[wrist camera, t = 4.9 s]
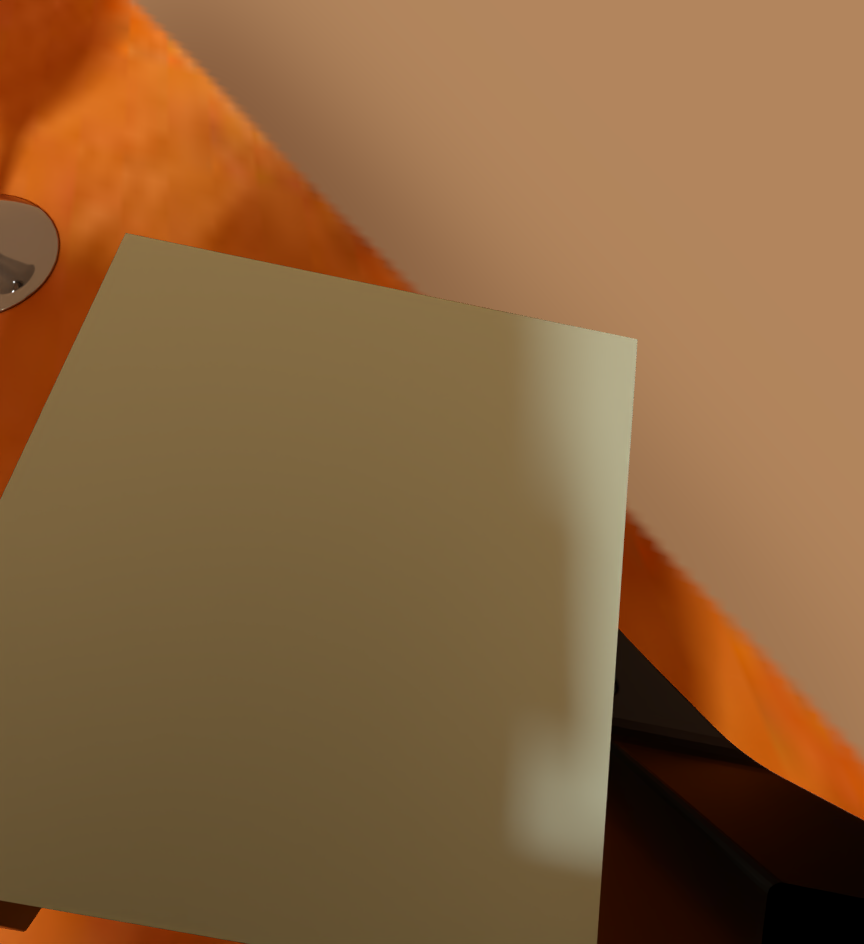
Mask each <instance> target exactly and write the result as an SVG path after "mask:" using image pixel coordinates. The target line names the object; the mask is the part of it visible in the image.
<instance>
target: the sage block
mask: <svg viewBox="0 0 864 944" xmlns="http://www.w3.org/2000/svg"><path fill="white" fill-rule="evenodd" d="M636 354H637V339H633V338H628V337H623V336H618V335H613V334H609V333H604V332H599V331H594V330H589V329H585V328H580V327H575V326H570V325H565V324H560V323H556V322H551V321H546V320H541V319H537V318H532V317H527V316H522V315H517V314H513V313H507V312H503V311H498V310H493V309H488V308H483V307H479V306H474V305H469V304H464V303H460V302H455V301H450V300H445V299H440V298H436V297H431V296H426V295H421V294H416V293H412V292H407V291H402V290H397V289H392V288H388V287H383V286H378V285H373V284H368V283H364V282H359V281H354V280H349V279H344V278H340V277H335V276H330V275H325V274H320V273H316V272H311V271H306V270H301V269H296V268H292V267H287V266H282V265H277V264H272V263H268V262H263V261H258V260H253V259H248V258H244V257H239V256H234V255H229V254H224V253H220V252H215V251H210V250H205V249H200V248H195V247H191V246H186V245H181V244H176V243H171V242H167V241H162V240H157V239H152V238H147V237H143V236H138V235H133V234H128V233H125V236H124V238H123V240H122V242H121V244H120V246H119V248H118V250H117V253H116V255H115V257H114V259H113V261H112V263H111V265H110V267H109V270H108V272H107V274H106V276H105V278H104V280H103V282H102V284H101V287H100V289H99V291H98V293H97V295H96V297H95V299H94V301H93V304H92V306H91V308H90V310H89V312H88V314H87V316H86V318H85V321H84V323H83V325H82V327H81V329H80V331H79V333H78V335H77V338H76V340H75V342H74V344H73V346H72V348H71V350H70V352H69V355H68V357H67V359H66V361H65V363H64V365H63V367H62V369H61V372H60V374H59V376H58V378H57V380H56V382H55V384H54V386H53V389H52V391H51V393H50V395H49V397H48V399H47V401H46V403H45V406H44V408H43V410H42V412H41V414H40V416H39V418H38V420H37V423H36V425H35V427H34V429H33V431H32V433H31V435H30V437H29V440H28V442H27V444H26V446H25V448H24V450H23V452H22V454H21V457H20V459H19V461H18V463H17V465H16V467H15V469H14V471H13V474H12V476H11V478H10V480H9V482H8V484H7V486H6V488H5V491H4V493H3V495H2V497H1V499H0V900H1V901H7V902H13V903H18V904H24V905H30V906H36V907H41V908H47V909H53V910H58V911H64V912H70V913H75V914H81V915H87V916H93V917H98V918H104V919H110V920H115V921H121V922H127V923H132V924H138V925H144V926H150V927H155V928H161V929H167V930H172V931H178V932H184V933H189V934H195V935H201V936H207V937H212V938H218V939H224V940H229V941H235V942H241V943H246V944H597V935H598V920H599V905H600V890H601V875H602V860H603V845H604V831H605V816H606V801H607V786H608V771H609V756H610V741H611V726H612V711H613V696H614V681H615V667H616V652H617V637H618V622H619V607H620V592H621V577H622V562H623V547H624V532H625V518H626V503H627V488H628V472H629V458H630V443H631V427H632V412H633V398H634V383H635V368H636Z"/></svg>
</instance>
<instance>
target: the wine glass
mask: <svg viewBox="0 0 864 944" xmlns="http://www.w3.org/2000/svg"><path fill="white" fill-rule="evenodd" d="M58 254H59V237H58V232H57V229H56V227H55V225H54V223H53V221H52V220H51V219H50V218H49V216H48V215H47V214H46V213H45V212H44V211H43V210H41V209H40V208H39V207H38V206H36V205H34V204H32V203H30V202H28V201H26V200H24V199H21V198H18V197H15V196H9V195H4V194H0V312H3V311H5V310H8V309H10V308H12V307H14V306H16V305H17V304H19V303H21V302H23V301H24V300H26V299H27V298H28V297H30V296H31V295H32V294H34V293H35V292H36V291H37V290H38V289H39V288H40V287H41V286H42V285H43V284H44V283H45V281H46V280H47V278H48V277H49V275H50V274H51V273H52V270H53V268H54V266H55V264H56V262H57V258H58Z"/></svg>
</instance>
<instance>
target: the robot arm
mask: <svg viewBox="0 0 864 944" xmlns="http://www.w3.org/2000/svg"><path fill="white" fill-rule="evenodd" d="M40 909H41V907H36V906H30V905H24V904H18V903H13V902H7V901H1V900H0V928H5V929H11V930H16V931H22V932H24V931H26V930H27V928H28V927H29V925H30V924H31V923H32V921H33V920H34V918H35V917H36V915H37V914H38V912H39V911H40ZM597 944H864V820H862V819H860V818H858V817H856V816H854V815H852V814H851V813H849V812H847V811H845V810H843V809H841V808H839V807H837V806H835V805H834V804H832V803H830V802H828V801H826V800H824V799H822V798H820V797H818V796H816V795H815V794H813V793H811V792H809V791H807V790H805V789H803V788H801V787H799V786H798V785H796V784H794V783H792V782H790V781H788V780H786V779H784V778H782V777H780V776H779V775H777V774H775V773H773V772H772V771H770V770H768V769H767V768H765V767H764V766H762V765H760V764H759V763H757V762H756V761H754V760H753V759H751V758H750V757H749V756H747V755H746V754H745V753H743V752H742V751H741V750H739V749H738V748H737V747H736V746H735V745H733V744H732V743H731V742H730V741H729V740H727V739H726V738H725V737H724V736H723V735H722V734H721V733H720V732H719V731H718V730H717V729H716V728H715V727H714V726H713V725H712V724H711V723H710V722H709V721H708V720H707V719H706V718H705V717H704V716H703V715H702V714H701V713H700V712H699V711H698V710H697V709H696V708H695V707H694V706H693V705H692V704H691V703H690V702H689V701H688V700H687V699H686V698H685V697H684V696H683V695H682V694H681V693H680V692H679V691H678V690H677V689H676V688H675V687H674V686H673V685H672V684H671V683H670V682H669V681H668V680H667V679H666V678H665V677H664V676H663V675H662V674H661V673H660V672H659V671H658V670H657V669H656V668H655V667H654V666H653V665H652V664H651V663H650V662H649V660H648V659H647V658H646V657H645V656H644V655H643V654H642V653H641V652H640V651H639V650H638V649H637V648H636V647H635V646H634V645H633V644H632V643H631V642H630V641H629V640H628V639H627V637H626V636H625V635H624V634H623V633H622V632H621V631H620V630H619V628H618V637H617V652H616V667H615V681H614V696H613V711H612V726H611V741H610V756H609V771H608V786H607V801H606V816H605V831H604V845H603V860H602V875H601V890H600V905H599V920H598V935H597Z"/></svg>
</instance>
